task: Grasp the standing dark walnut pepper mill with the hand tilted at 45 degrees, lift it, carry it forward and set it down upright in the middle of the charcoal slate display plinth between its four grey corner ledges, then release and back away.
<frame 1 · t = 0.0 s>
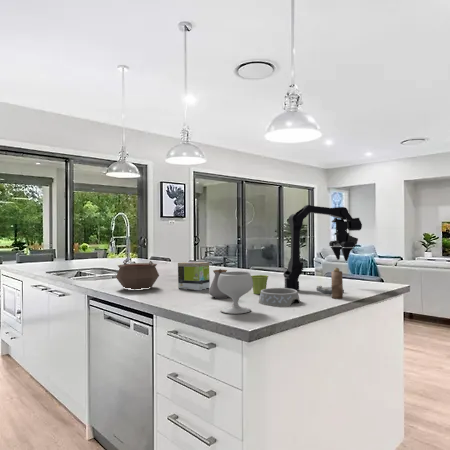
hand: (342, 260, 201), 15 cm above the worktop, tool pointing down, fingers open, 9 cm apart
dog bowl: (279, 303, 167), on the worktop
pepper mill: (337, 298, 173), on the worktop
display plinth: (329, 291, 190), on the worktop
plant pot: (259, 293, 190), on the worktop
brown faceted rounded vessel: (137, 289, 214), on the worktop
tea box: (194, 289, 210), on the worktop
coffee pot: (220, 299, 177), on the worktop
chalice: (235, 311, 149), on the worktop
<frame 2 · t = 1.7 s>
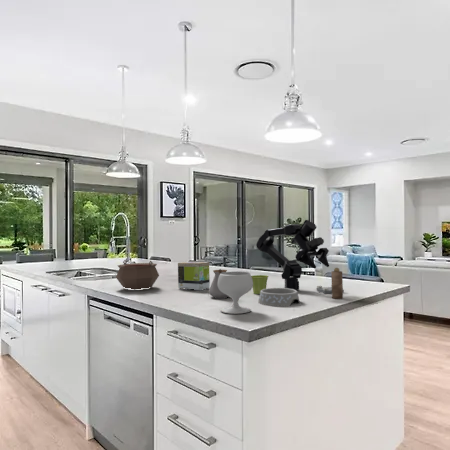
hand: (322, 267, 180), 13 cm above the worktop, tool tilted 45°, fingers open, 9 cm apart
nothing on the worktop moved.
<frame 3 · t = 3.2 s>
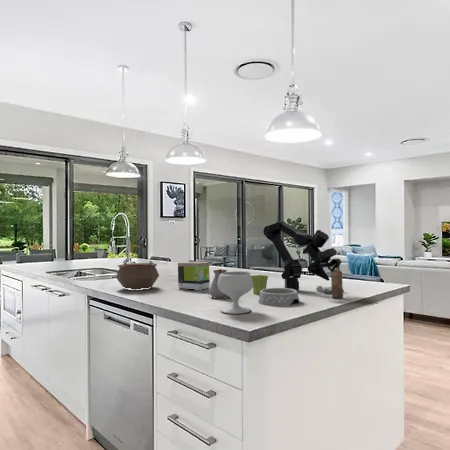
hand: (335, 279, 174), 8 cm above the worktop, tool tilted 45°, fingers open, 9 cm apart
nothing on the worktop moved.
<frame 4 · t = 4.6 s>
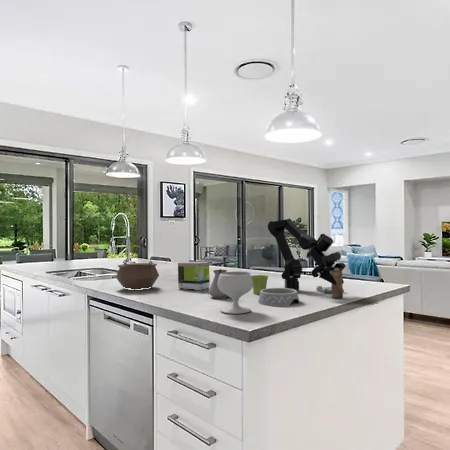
hand: (339, 283, 172), 7 cm above the worktop, tool tilted 45°, fingers closed on pepper mill, 5 cm apart
pepper mill: (337, 297, 173), on the worktop, touching gripper
everything else where it was.
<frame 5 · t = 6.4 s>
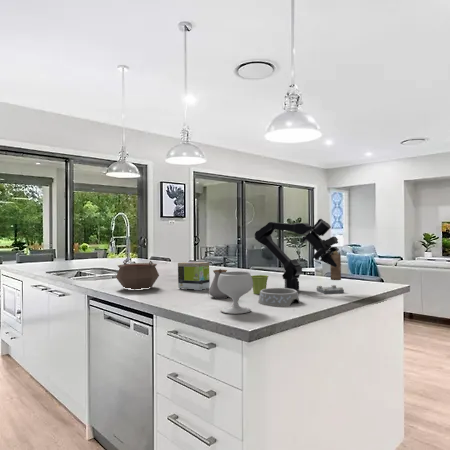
hand: (338, 266, 181), 14 cm above the worktop, tool tilted 45°, fingers closed on pepper mill, 5 cm apart
pepper mill: (335, 279, 182), point 7 cm above the worktop, touching gripper
everything else where it was.
when the fingers open (9 cm above the worktop, at t = 8.4 s): pepper mill drops 1 cm, resting on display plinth.
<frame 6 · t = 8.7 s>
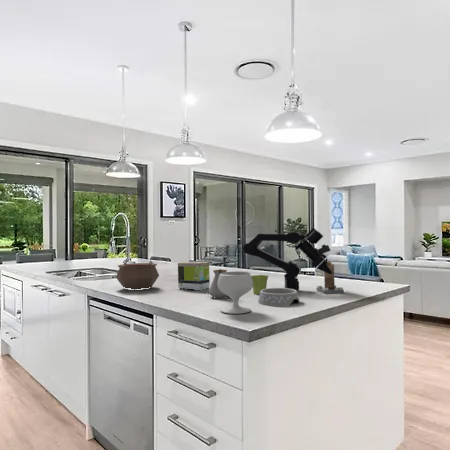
hand: (332, 272, 190), 10 cm above the worktop, tool tilted 45°, fingers open, 8 cm apart
pepper mill: (329, 288, 190), point 2 cm above the worktop, touching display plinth
everything else where it was.
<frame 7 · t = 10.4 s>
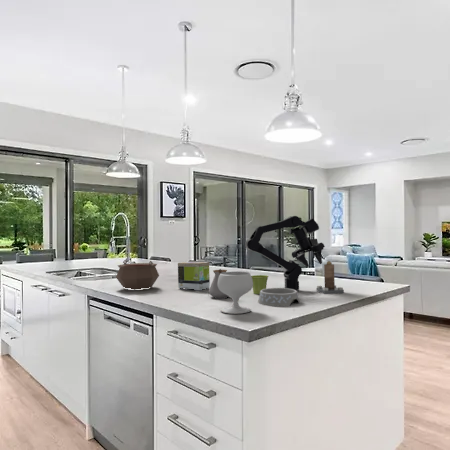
hand: (314, 265, 198), 13 cm above the worktop, tool tilted 25°, fingers open, 9 cm apart
nothing on the worktop moved.
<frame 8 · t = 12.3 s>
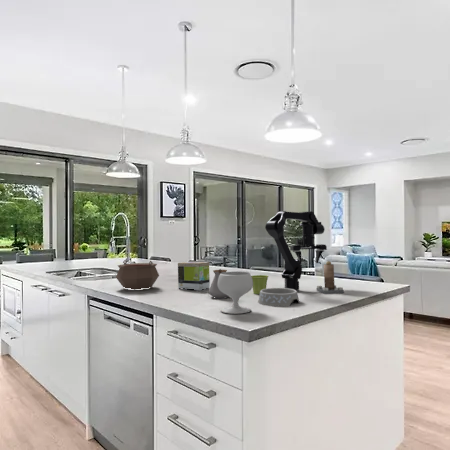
hand: (308, 263, 204), 13 cm above the worktop, tool pointing down, fingers open, 9 cm apart
nothing on the worktop moved.
at the end: pepper mill 0.1 cm off-centre on the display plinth, point 1.5 cm above the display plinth's base; pepper mill tilted 1°; the gripper is holding nothing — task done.
